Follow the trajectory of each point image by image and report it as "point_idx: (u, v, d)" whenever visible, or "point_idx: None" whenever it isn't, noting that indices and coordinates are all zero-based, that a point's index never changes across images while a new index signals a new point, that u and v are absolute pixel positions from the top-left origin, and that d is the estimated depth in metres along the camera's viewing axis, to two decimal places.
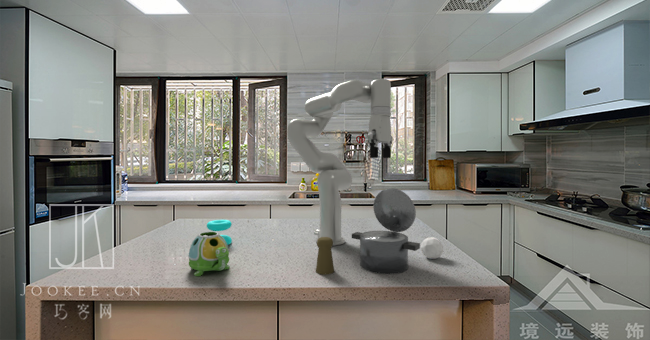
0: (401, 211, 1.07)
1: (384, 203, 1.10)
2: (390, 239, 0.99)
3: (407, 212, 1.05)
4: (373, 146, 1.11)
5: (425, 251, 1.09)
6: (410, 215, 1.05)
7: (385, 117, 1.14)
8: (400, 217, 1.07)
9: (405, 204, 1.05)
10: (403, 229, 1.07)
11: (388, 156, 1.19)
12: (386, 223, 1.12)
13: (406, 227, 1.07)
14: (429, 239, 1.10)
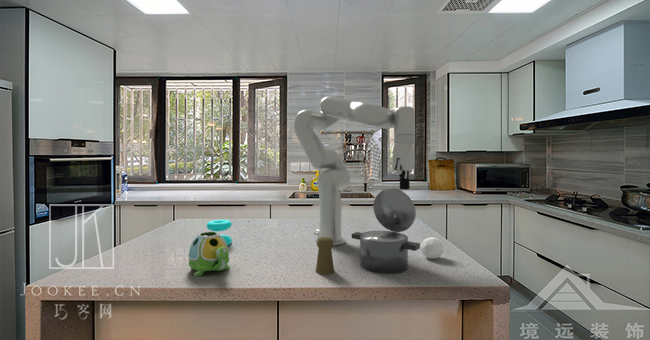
0: (401, 211, 1.07)
1: (384, 203, 1.10)
2: (390, 239, 0.99)
3: (407, 212, 1.05)
4: None
5: (425, 251, 1.09)
6: (410, 215, 1.05)
7: (409, 145, 1.12)
8: (400, 217, 1.07)
9: (405, 204, 1.05)
10: (403, 229, 1.07)
11: None
12: (386, 223, 1.12)
13: (406, 227, 1.07)
14: (429, 239, 1.10)
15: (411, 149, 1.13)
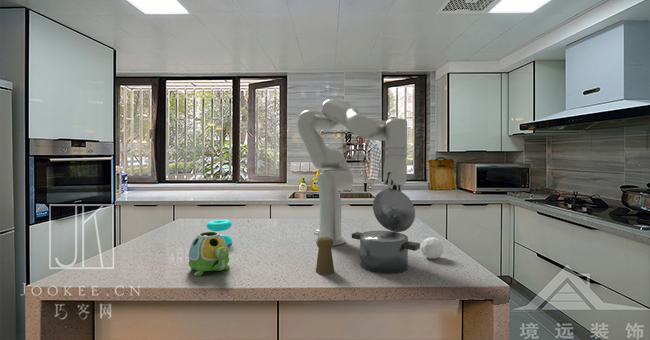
0: (400, 211, 1.06)
1: (383, 203, 1.10)
2: (390, 239, 0.99)
3: (407, 213, 1.05)
4: None
5: (425, 251, 1.09)
6: (410, 215, 1.04)
7: (401, 159, 1.07)
8: (399, 217, 1.07)
9: (404, 204, 1.05)
10: (403, 229, 1.07)
11: None
12: (385, 223, 1.11)
13: (406, 227, 1.06)
14: (429, 239, 1.10)
15: (403, 163, 1.09)
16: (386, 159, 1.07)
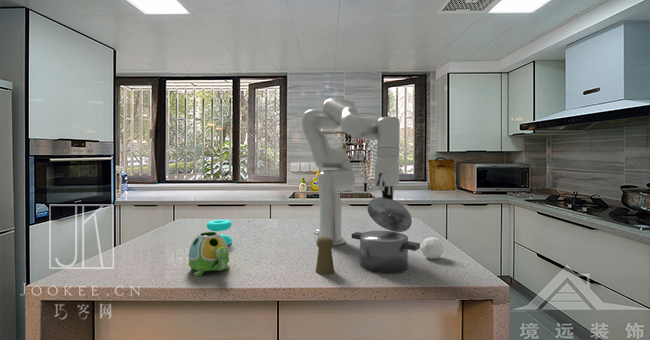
0: (396, 217, 1.04)
1: (378, 210, 1.07)
2: (390, 239, 0.99)
3: (403, 218, 1.03)
4: None
5: (425, 251, 1.09)
6: (406, 220, 1.02)
7: (393, 159, 1.03)
8: (396, 221, 1.05)
9: (399, 211, 1.01)
10: (402, 230, 1.07)
11: None
12: (384, 225, 1.11)
13: (405, 229, 1.06)
14: (429, 239, 1.10)
15: (395, 163, 1.04)
16: (377, 159, 1.02)
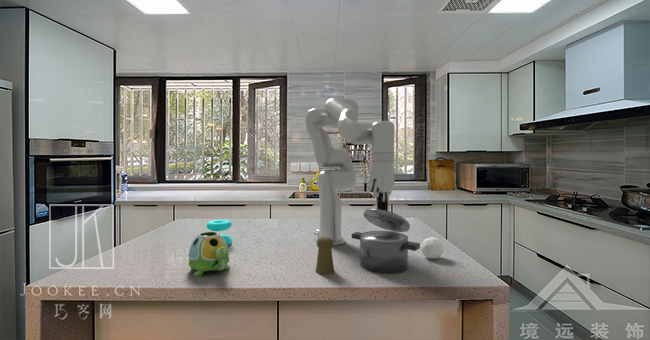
0: (394, 223, 1.03)
1: (374, 217, 1.05)
2: (390, 239, 0.99)
3: (401, 224, 1.01)
4: None
5: (425, 251, 1.09)
6: (404, 225, 1.01)
7: (388, 164, 1.00)
8: (395, 225, 1.04)
9: (396, 220, 1.00)
10: (402, 231, 1.07)
11: None
12: (383, 227, 1.10)
13: (404, 230, 1.05)
14: (429, 239, 1.10)
15: (390, 169, 1.01)
16: (372, 165, 1.00)
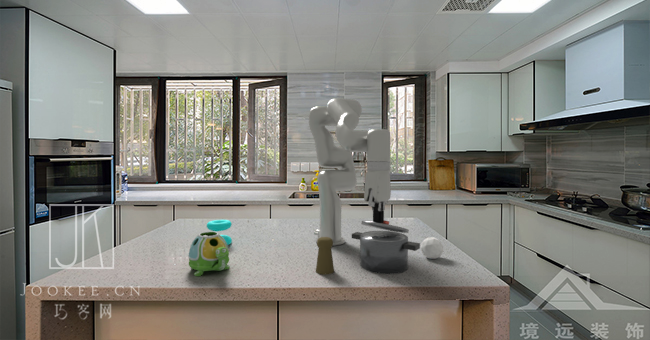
0: (392, 229, 1.02)
1: None
2: (390, 239, 0.99)
3: None
4: None
5: (425, 251, 1.09)
6: (403, 231, 1.01)
7: (384, 173, 0.98)
8: (393, 230, 1.04)
9: (394, 229, 0.99)
10: (402, 232, 1.07)
11: None
12: (383, 229, 1.10)
13: (404, 232, 1.05)
14: (429, 239, 1.10)
15: (386, 177, 0.99)
16: (367, 174, 0.97)
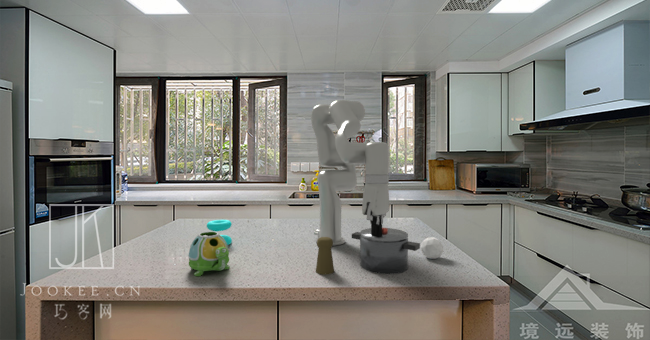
0: None
1: None
2: None
3: None
4: None
5: (425, 251, 1.09)
6: None
7: (382, 187, 0.97)
8: None
9: None
10: None
11: None
12: None
13: None
14: (429, 239, 1.10)
15: (384, 191, 0.98)
16: (365, 187, 0.97)
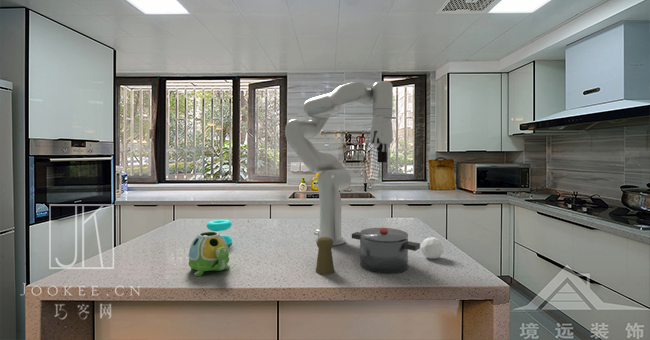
0: None
1: None
2: None
3: None
4: None
5: (425, 251, 1.09)
6: None
7: (387, 119, 1.15)
8: None
9: None
10: None
11: None
12: None
13: None
14: (429, 239, 1.10)
15: (389, 123, 1.16)
16: (373, 119, 1.15)
